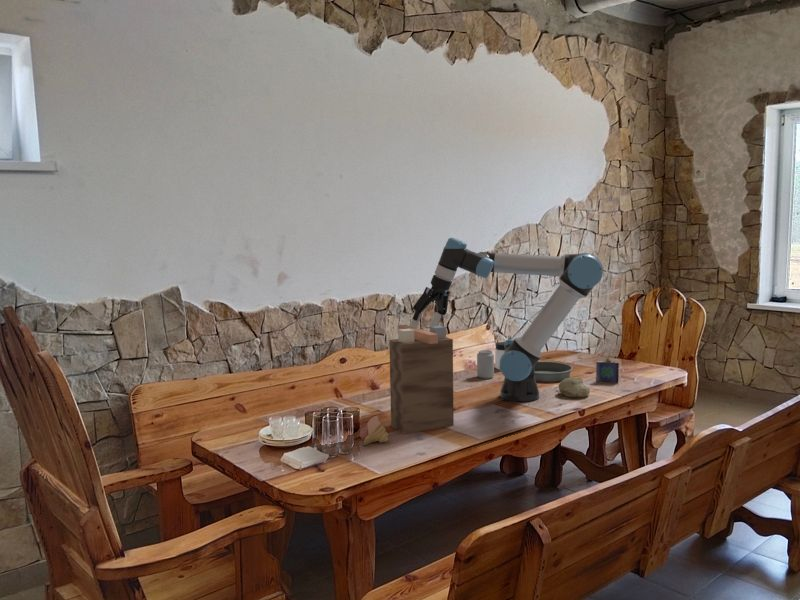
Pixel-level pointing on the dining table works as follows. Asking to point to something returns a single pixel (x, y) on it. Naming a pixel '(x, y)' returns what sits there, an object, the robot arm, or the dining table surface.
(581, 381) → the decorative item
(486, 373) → the can
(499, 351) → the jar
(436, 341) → the terracotta stick
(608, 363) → the dark small block
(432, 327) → the slate cube
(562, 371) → the cake pan
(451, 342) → the walnut stand
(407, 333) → the cream cube
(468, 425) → the dining table surface
